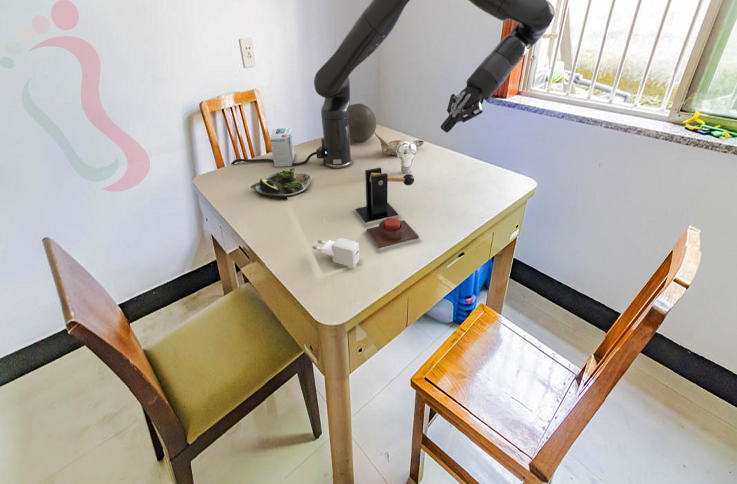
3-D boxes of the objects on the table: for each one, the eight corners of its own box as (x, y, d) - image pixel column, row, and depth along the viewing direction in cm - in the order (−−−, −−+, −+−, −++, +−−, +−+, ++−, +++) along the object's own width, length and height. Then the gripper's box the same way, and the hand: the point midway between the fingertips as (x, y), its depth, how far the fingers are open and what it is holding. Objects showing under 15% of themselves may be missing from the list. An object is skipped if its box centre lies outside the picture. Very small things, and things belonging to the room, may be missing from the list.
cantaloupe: (351, 134, 163) (349, 98, 155) (381, 138, 158) (381, 101, 150) (336, 145, 153) (333, 107, 144) (368, 149, 148) (367, 111, 139)
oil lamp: (370, 154, 144) (369, 128, 138) (417, 144, 151) (419, 119, 146) (380, 162, 138) (380, 135, 132) (429, 151, 145) (431, 126, 139)
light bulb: (415, 169, 132) (417, 136, 125) (415, 178, 126) (417, 144, 119) (396, 169, 132) (396, 136, 125) (395, 178, 127) (395, 143, 120)
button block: (403, 224, 103) (404, 213, 101) (418, 241, 96) (419, 229, 94) (366, 233, 99) (366, 222, 97) (379, 251, 93) (379, 239, 91)
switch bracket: (387, 205, 112) (387, 163, 104) (398, 218, 106) (399, 174, 98) (355, 212, 109) (353, 169, 101) (365, 225, 103) (364, 181, 95)
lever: (409, 182, 107) (412, 172, 106) (414, 187, 105) (417, 177, 103) (368, 181, 102) (370, 170, 100) (372, 186, 99) (375, 174, 98)
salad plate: (273, 170, 134) (271, 158, 131) (320, 175, 130) (319, 162, 127) (246, 196, 118) (243, 183, 116) (298, 201, 115) (296, 188, 112)
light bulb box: (277, 156, 145) (272, 128, 139) (295, 155, 145) (291, 127, 139) (274, 167, 136) (269, 138, 130) (292, 166, 137) (288, 137, 130)
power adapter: (311, 260, 90) (308, 241, 87) (321, 249, 94) (319, 230, 91) (353, 272, 87) (351, 251, 83) (361, 260, 90) (361, 240, 87)
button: (396, 221, 98) (396, 216, 97) (402, 229, 95) (402, 223, 94) (382, 225, 97) (382, 219, 96) (388, 233, 94) (388, 227, 93)
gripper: (467, 62, 99) (423, 115, 103) (498, 70, 89) (448, 129, 93) (481, 81, 104) (439, 131, 108) (512, 91, 94) (464, 146, 97)
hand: (443, 130), depth 100 cm, fingers closed
